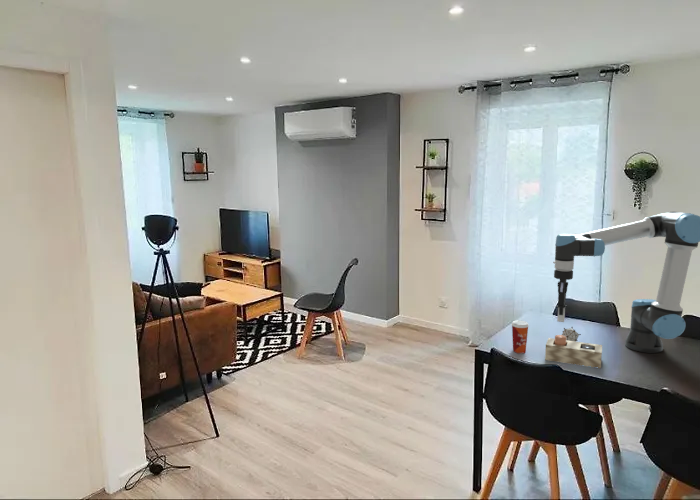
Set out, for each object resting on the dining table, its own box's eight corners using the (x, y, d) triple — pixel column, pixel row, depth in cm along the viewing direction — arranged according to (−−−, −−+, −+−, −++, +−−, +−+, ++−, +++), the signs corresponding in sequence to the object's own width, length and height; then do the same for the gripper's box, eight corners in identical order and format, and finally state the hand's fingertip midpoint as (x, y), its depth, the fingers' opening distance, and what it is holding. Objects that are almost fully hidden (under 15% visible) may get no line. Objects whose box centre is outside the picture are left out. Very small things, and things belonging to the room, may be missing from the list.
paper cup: (519, 355, 215) (520, 326, 213) (507, 350, 222) (507, 321, 219) (531, 352, 218) (532, 323, 216) (519, 346, 225) (519, 318, 223)
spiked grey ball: (573, 351, 227) (584, 340, 220) (556, 345, 228) (566, 333, 221) (573, 338, 233) (583, 326, 226) (556, 331, 234) (566, 319, 227)
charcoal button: (593, 358, 206) (593, 346, 205) (592, 361, 202) (593, 349, 201) (581, 356, 208) (582, 344, 207) (580, 360, 204) (581, 348, 203)
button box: (601, 360, 207) (602, 345, 206) (600, 368, 198) (601, 352, 197) (547, 352, 218) (548, 337, 216) (545, 359, 209) (545, 344, 208)
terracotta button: (566, 347, 211) (566, 335, 210) (565, 350, 207) (565, 339, 206) (555, 345, 213) (555, 334, 212) (553, 349, 209) (554, 337, 208)
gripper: (556, 266, 211) (553, 316, 215) (552, 271, 200) (550, 324, 204) (574, 267, 208) (571, 318, 212) (572, 273, 197) (568, 326, 200)
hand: (560, 321), depth 208 cm, fingers closed
